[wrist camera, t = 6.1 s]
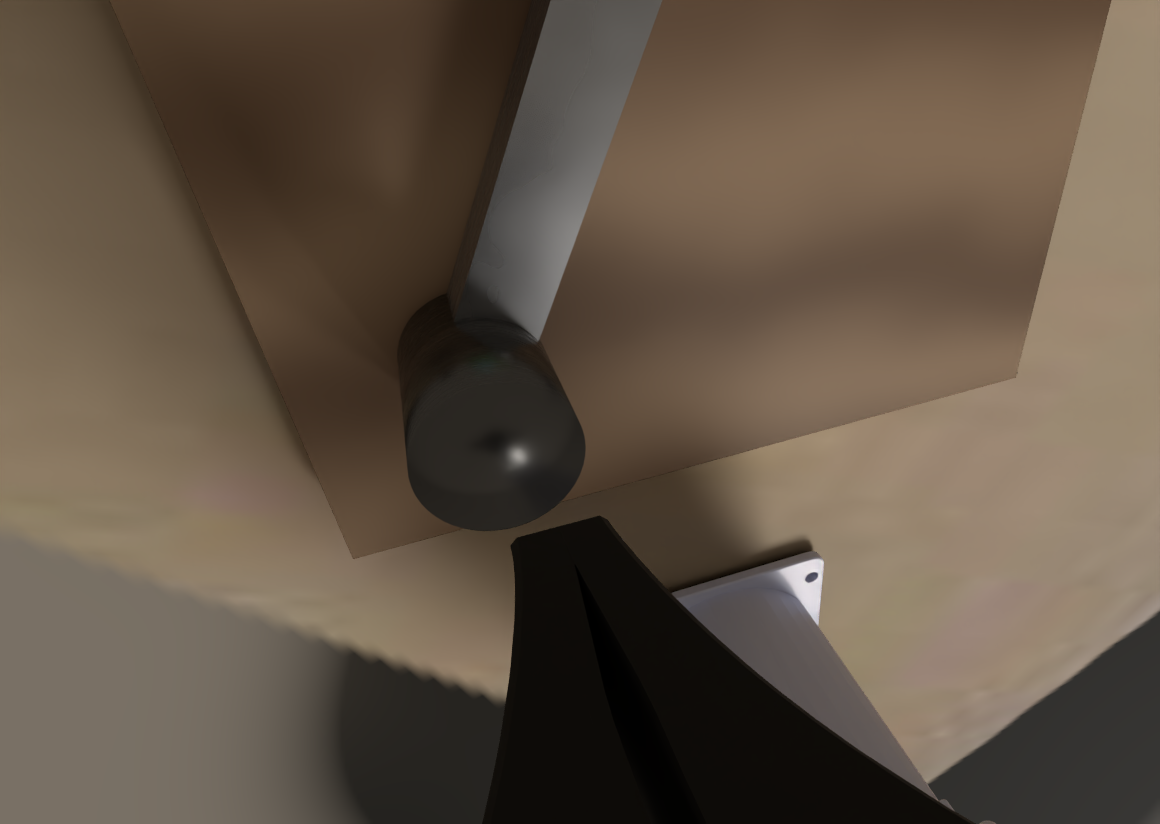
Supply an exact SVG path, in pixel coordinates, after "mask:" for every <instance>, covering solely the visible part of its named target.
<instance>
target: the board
mask: <svg viewBox="0 0 1160 824" xmlns="http://www.w3.org/2000/svg"><path fill="white" fill-rule="evenodd" d="M109 1H110V3H111V5H112V7H113V10H114V12H115V14H116V17H117V19H118V21H119V23H120V26H121V28H122V30H123V33H124V35H125V37H126V39H127V42H128V44H129V46H130V49H131V51H132V53H133V56H134V58H135V60H136V62H137V65H138V67H139V69H140V72H141V74H142V76H143V78H144V81H145V83H146V85H147V88H148V90H149V92H150V94H151V97H152V99H153V101H154V104H155V106H156V108H157V111H158V113H159V115H160V117H161V120H162V122H163V124H164V127H165V129H166V131H167V133H168V136H169V138H170V140H171V143H172V145H173V147H174V149H175V152H176V154H177V156H178V159H179V161H180V163H181V166H182V168H183V170H184V172H185V175H186V177H187V179H188V182H189V184H190V186H191V188H192V191H193V193H194V195H195V198H196V200H197V202H198V204H199V207H200V209H201V211H202V214H203V216H204V218H205V221H206V223H207V225H208V227H209V230H210V232H211V234H212V237H213V239H214V241H215V243H216V246H217V248H218V250H219V253H220V255H221V257H222V259H223V262H224V264H225V266H226V269H227V271H228V273H229V276H230V278H231V280H232V282H233V285H234V287H235V289H236V292H237V294H238V296H239V298H240V301H241V303H242V305H243V308H244V310H245V312H246V314H247V317H248V319H249V321H250V324H251V326H252V328H253V330H254V333H255V335H256V337H257V340H258V342H259V344H260V347H261V349H262V351H263V353H264V356H265V358H266V360H267V363H268V365H269V367H270V369H271V372H272V374H273V376H274V379H275V381H276V383H277V385H278V388H279V390H280V392H281V395H282V397H283V399H284V402H285V404H286V406H287V408H288V411H289V413H290V415H291V418H292V420H293V422H294V424H295V427H296V429H297V431H298V434H299V436H300V438H301V440H302V443H303V445H304V447H305V450H306V452H307V454H308V457H309V459H310V461H311V463H312V466H313V468H314V470H315V473H316V475H317V477H318V479H319V482H320V484H321V486H322V489H323V491H324V493H325V495H326V498H327V500H328V502H329V505H330V507H331V509H332V512H333V514H334V516H335V518H336V521H337V523H338V525H339V528H340V530H341V532H342V534H343V537H344V539H345V541H346V544H347V546H348V548H349V550H350V553H351V555H352V557H353V559H355V558H359V557H363V556H366V555H370V554H373V553H377V552H381V551H384V550H388V549H392V548H395V547H399V546H403V545H406V544H410V543H414V542H417V541H421V540H425V539H428V538H432V537H436V536H439V535H443V534H446V533H450V532H454V531H457V530H461V529H464V528H460V527H457V526H453V525H451V524H449V523H446V522H444V521H442V520H440V519H439V518H437V517H435V516H434V515H433V514H431V513H430V512H429V511H428V510H427V509H426V508H425V507H424V506H423V505H422V504H421V503H420V501H419V500H418V499H417V497H416V496H415V494H414V492H413V490H412V488H411V485H410V481H409V478H408V469H407V459H406V448H405V437H404V426H403V415H402V404H401V393H400V382H399V371H398V360H397V353H398V344H399V340H400V337H401V334H402V331H403V330H404V328H405V326H406V324H407V322H408V321H409V320H410V318H411V317H412V316H413V315H414V314H415V313H416V311H417V310H418V309H420V308H421V307H422V306H423V305H425V304H426V303H427V302H429V301H431V300H432V299H434V298H436V297H438V296H440V295H443V294H446V293H447V290H448V286H449V283H450V279H451V276H452V273H453V269H454V266H455V262H456V259H457V255H458V252H459V248H460V245H461V242H462V238H463V235H464V231H465V228H466V224H467V221H468V217H469V214H470V211H471V207H472V204H473V200H474V197H475V193H476V190H477V186H478V183H479V180H480V176H481V173H482V169H483V166H484V162H485V159H486V155H487V152H488V149H489V145H490V142H491V138H492V135H493V131H494V128H495V124H496V121H497V118H498V114H499V111H500V107H501V104H502V100H503V97H504V93H505V90H506V86H507V83H508V80H509V76H510V73H511V69H512V66H513V62H514V59H515V55H516V52H517V49H518V45H519V42H520V38H521V35H522V31H523V28H524V24H525V21H526V18H527V14H528V11H529V7H530V4H531V0H109ZM1110 3H1111V0H662V2H661V5H660V8H659V11H658V14H657V16H656V19H655V22H654V25H653V27H652V30H651V33H650V36H649V38H648V41H647V44H646V47H645V49H644V52H643V55H642V58H641V60H640V63H639V66H638V69H637V71H636V74H635V77H634V80H633V83H632V85H631V88H630V91H629V94H628V96H627V99H626V102H625V105H624V107H623V110H622V113H621V116H620V118H619V121H618V124H617V127H616V129H615V132H614V135H613V138H612V140H611V143H610V146H609V149H608V152H607V154H606V157H605V160H604V163H603V165H602V168H601V171H600V174H599V176H598V179H597V182H596V185H595V187H594V190H593V193H592V196H591V198H590V201H589V204H588V207H587V209H586V212H585V215H584V218H583V221H582V223H581V226H580V229H579V232H578V234H577V237H576V240H575V243H574V245H573V248H572V251H571V254H570V256H569V259H568V262H567V265H566V267H565V270H564V273H563V276H562V278H561V281H560V284H559V287H558V290H557V292H556V295H555V298H554V301H553V303H552V306H551V309H550V312H549V314H548V317H547V320H546V323H545V325H544V328H543V331H542V334H541V336H540V340H541V342H542V344H543V347H544V349H545V351H546V353H547V355H548V357H549V359H550V361H551V363H552V365H553V368H554V370H555V372H556V374H557V376H558V378H559V380H560V382H561V384H562V386H563V389H564V391H565V393H566V395H567V397H568V399H569V401H570V403H571V405H572V407H573V409H574V412H575V414H576V416H577V418H578V420H579V422H580V424H581V427H582V429H583V433H584V436H585V444H586V452H585V460H584V465H583V468H582V471H581V473H580V476H579V478H578V480H577V482H576V483H575V485H574V486H573V488H572V489H571V491H570V492H569V493H568V494H567V495H566V497H565V498H564V499H563V500H562V501H561V502H563V501H567V500H571V499H574V498H578V497H581V496H585V495H589V494H592V493H596V492H600V491H603V490H607V489H611V488H614V487H618V486H622V485H625V484H629V483H633V482H636V481H640V480H644V479H647V478H651V477H654V476H658V475H662V474H665V473H669V472H673V471H676V470H680V469H684V468H687V467H691V466H695V465H698V464H702V463H706V462H709V461H713V460H717V459H720V458H724V457H727V456H731V455H735V454H738V453H742V452H746V451H749V450H753V449H757V448H760V447H764V446H768V445H771V444H775V443H779V442H782V441H786V440H790V439H793V438H797V437H800V436H804V435H808V434H811V433H815V432H819V431H822V430H826V429H830V428H833V427H837V426H841V425H844V424H848V423H852V422H855V421H859V420H863V419H866V418H870V417H873V416H877V415H881V414H884V413H888V412H892V411H895V410H899V409H903V408H906V407H910V406H914V405H917V404H921V403H925V402H928V401H932V400H935V399H939V398H943V397H946V396H950V395H954V394H957V393H961V392H965V391H968V390H972V389H976V388H979V387H983V386H987V385H990V384H994V383H998V382H1001V381H1005V380H1008V379H1012V378H1016V374H1017V370H1018V366H1019V362H1020V358H1021V354H1022V350H1023V346H1024V342H1025V338H1026V335H1027V331H1028V327H1029V323H1030V319H1031V315H1032V311H1033V307H1034V303H1035V299H1036V295H1037V291H1038V287H1039V283H1040V279H1041V275H1042V271H1043V268H1044V264H1045V260H1046V256H1047V252H1048V248H1049V244H1050V240H1051V236H1052V232H1053V228H1054V224H1055V220H1056V216H1057V212H1058V208H1059V204H1060V201H1061V197H1062V193H1063V189H1064V185H1065V181H1066V177H1067V173H1068V169H1069V165H1070V161H1071V157H1072V153H1073V149H1074V145H1075V141H1076V137H1077V134H1078V130H1079V126H1080V122H1081V118H1082V114H1083V110H1084V106H1085V102H1086V98H1087V94H1088V90H1089V86H1090V82H1091V78H1092V74H1093V70H1094V67H1095V63H1096V59H1097V55H1098V51H1099V47H1100V43H1101V39H1102V35H1103V31H1104V27H1105V23H1106V19H1107V15H1108V11H1109V7H1110Z"/></svg>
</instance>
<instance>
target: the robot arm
mask: <svg viewBox="0 0 1160 824" xmlns="http://www.w3.org/2000/svg"><path fill="white" fill-rule="evenodd" d="M511 550H512V555H513V561H514V572H515V621H514V633H513V645H512V657H511V668H510V677H509V684H508V691H507V697H506V704H505V710H504V717H503V724H502V730H501V737H500V743H499V748H498V753H497V758H496V764H495V768H494V773H493V778H492V783H491V787H490V792H489V796H488V801H487V805H486V809H485V814H484V818H483V822H482V824H975V823H973V822H972V821H970V820H968V819H967V818H965V817H963V816H962V815H960V814H958V813H957V812H955V811H954V810H953V808H952V807H951V806H950V804H949V803H948V801H947V800H943V799H942V800H940V801H938V799H937V798H936V796H935V795H934V794H933V792H932V791H931V789H930V788H929V786H928V785H927V783H926V782H925V780H924V779H923V778H922V776H921V775H920V773H919V772H918V770H917V769H916V767H915V766H914V765H913V763H912V762H911V760H910V759H909V757H908V756H907V754H906V753H905V752H904V750H903V749H902V747H901V746H900V744H899V743H898V741H897V740H896V738H895V737H894V736H893V734H892V733H891V731H890V730H889V728H888V727H887V725H886V724H885V723H884V721H883V720H882V718H881V717H880V715H879V714H878V712H877V711H876V710H875V708H874V707H873V705H872V704H871V702H870V701H869V699H868V698H867V696H866V695H865V694H864V692H863V691H862V689H861V688H860V686H859V685H858V683H857V682H856V681H855V679H854V678H853V676H852V675H851V673H850V672H849V670H848V669H847V668H846V666H845V665H844V663H843V662H842V660H841V659H840V657H839V656H838V654H837V653H836V652H835V650H834V649H833V647H832V646H831V644H830V643H829V641H828V640H827V639H826V637H825V636H824V634H823V633H822V631H821V630H820V628H819V627H818V624H819V613H820V602H821V591H822V580H823V569H824V560H823V559H822V557H821V556H820V555H819V554H818V553H817V552H814V551H810V552H806V553H802V554H799V555H796V556H792V557H789V558H786V559H782V560H779V561H776V562H772V563H769V564H766V565H762V566H759V567H755V568H752V569H749V570H745V571H742V572H739V573H735V574H732V575H729V576H725V577H722V578H719V579H715V580H712V581H709V582H705V583H702V584H699V585H695V586H692V587H689V588H685V589H682V590H679V591H675V592H672V593H670V592H669V591H668V590H667V589H666V588H665V587H664V586H663V584H662V583H661V582H660V581H659V580H658V579H657V578H656V577H655V576H654V575H653V574H652V573H651V572H650V570H649V569H648V568H647V567H646V566H645V565H644V564H643V563H642V562H641V561H640V559H639V558H638V557H637V556H636V555H635V554H634V553H633V551H632V550H631V549H630V548H629V547H628V545H627V544H626V543H625V542H624V541H623V539H622V538H621V537H620V536H619V534H618V533H617V532H616V531H615V529H614V528H613V527H612V525H611V524H610V522H609V521H608V520H607V519H605V518H603V517H601V516H597V517H593V518H589V519H586V520H582V521H578V522H574V523H571V524H567V525H563V526H559V527H555V528H552V529H548V530H544V531H540V532H537V533H533V534H529V535H525V536H522V537H518V538H516V540H515V541H514V542H513V543H512V545H511ZM980 824H996V823H994V822H992V821H983V822H982V823H980Z"/></svg>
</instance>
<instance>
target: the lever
mask: <svg viewBox="0 0 1160 824" xmlns="http://www.w3.org/2000/svg"><path fill="white" fill-rule="evenodd" d="M661 2H662V0H531V4H530V7H529V11H528V14H527V18H526V21H525V24H524V28H523V31H522V35H521V38H520V42H519V45H518V49H517V52H516V55H515V59H514V62H513V66H512V69H511V73H510V76H509V80H508V83H507V86H506V90H505V93H504V97H503V100H502V104H501V107H500V111H499V114H498V118H497V121H496V124H495V128H494V131H493V135H492V138H491V142H490V145H489V149H488V152H487V155H486V159H485V162H484V166H483V169H482V173H481V176H480V180H479V183H478V186H477V190H476V193H475V197H474V200H473V204H472V207H471V211H470V214H469V217H468V221H467V224H466V228H465V231H464V235H463V238H462V242H461V245H460V248H459V252H458V255H457V259H456V262H455V266H454V269H453V273H452V276H451V279H450V283H449V286H448V290H447V293H446V294H443V295H440V296H438V297H436V298H434V299H432V300H431V301H429V302H427V303H426V304H425V305H423V306H422V307H421V308H420V309H418V310H417V311H416V313H415V314H414V315H413V316H412V317H411V318H410V320H409V321H408V322H407V324H406V326H405V328H404V330H403V331H402V334H401V337H400V340H399V344H398V353H397V360H398V371H399V382H400V393H401V404H402V415H403V426H404V437H405V448H406V459H407V469H408V478H409V481H410V485H411V488H412V490H413V492H414V494H415V496H416V497H417V499H418V500H419V501H420V503H421V504H422V505H423V506H424V507H425V508H426V509H427V510H428V511H429V512H430V513H431V514H433V515H434V516H435V517H437V518H439V519H440V520H442V521H444V522H446V523H449V524H451V525H453V526H457V527H460V528H464V529H470V530H478V531H495V530H503V529H508V528H513V527H517V526H520V525H523V524H525V523H528V522H530V521H532V520H535V519H537V518H539V517H540V516H542V515H544V514H545V513H547V512H548V511H550V510H551V509H552V508H554V507H555V506H556V505H557V504H559V503H560V502H561V501H562V500H563V499H564V498H565V497H566V495H567V494H568V493H569V492H570V491H571V489H572V488H573V486H574V485H575V483H576V482H577V480H578V478H579V476H580V473H581V471H582V468H583V465H584V460H585V452H586V444H585V436H584V433H583V429H582V427H581V424H580V422H579V420H578V418H577V416H576V414H575V412H574V409H573V407H572V405H571V403H570V401H569V399H568V397H567V395H566V393H565V391H564V389H563V386H562V384H561V382H560V380H559V378H558V376H557V374H556V372H555V370H554V368H553V365H552V363H551V361H550V359H549V357H548V355H547V353H546V351H545V349H544V347H543V344H542V342H541V340H540V336H541V334H542V331H543V328H544V325H545V323H546V320H547V317H548V314H549V312H550V309H551V306H552V303H553V301H554V298H555V295H556V292H557V290H558V287H559V284H560V281H561V278H562V276H563V273H564V270H565V267H566V265H567V262H568V259H569V256H570V254H571V251H572V248H573V245H574V243H575V240H576V237H577V234H578V232H579V229H580V226H581V223H582V221H583V218H584V215H585V212H586V209H587V207H588V204H589V201H590V198H591V196H592V193H593V190H594V187H595V185H596V182H597V179H598V176H599V174H600V171H601V168H602V165H603V163H604V160H605V157H606V154H607V152H608V149H609V146H610V143H611V140H612V138H613V135H614V132H615V129H616V127H617V124H618V121H619V118H620V116H621V113H622V110H623V107H624V105H625V102H626V99H627V96H628V94H629V91H630V88H631V85H632V83H633V80H634V77H635V74H636V71H637V69H638V66H639V63H640V60H641V58H642V55H643V52H644V49H645V47H646V44H647V41H648V38H649V36H650V33H651V30H652V27H653V25H654V22H655V19H656V16H657V14H658V11H659V8H660V5H661Z"/></svg>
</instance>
